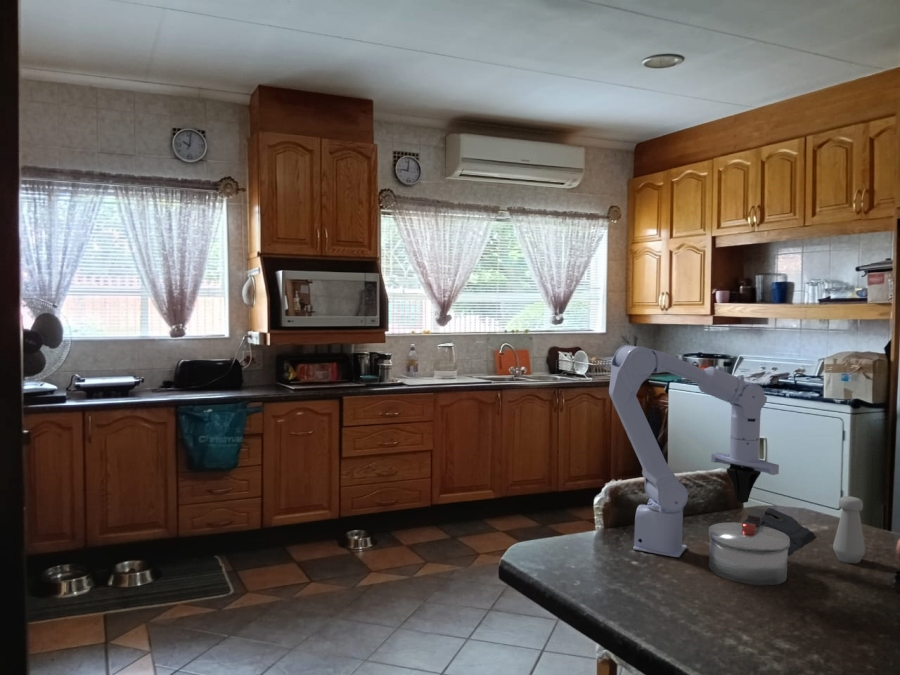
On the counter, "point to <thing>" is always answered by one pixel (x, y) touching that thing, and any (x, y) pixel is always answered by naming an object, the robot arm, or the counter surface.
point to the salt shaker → (849, 531)
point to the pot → (748, 565)
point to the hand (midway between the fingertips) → (742, 501)
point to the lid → (750, 535)
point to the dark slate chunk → (787, 528)
